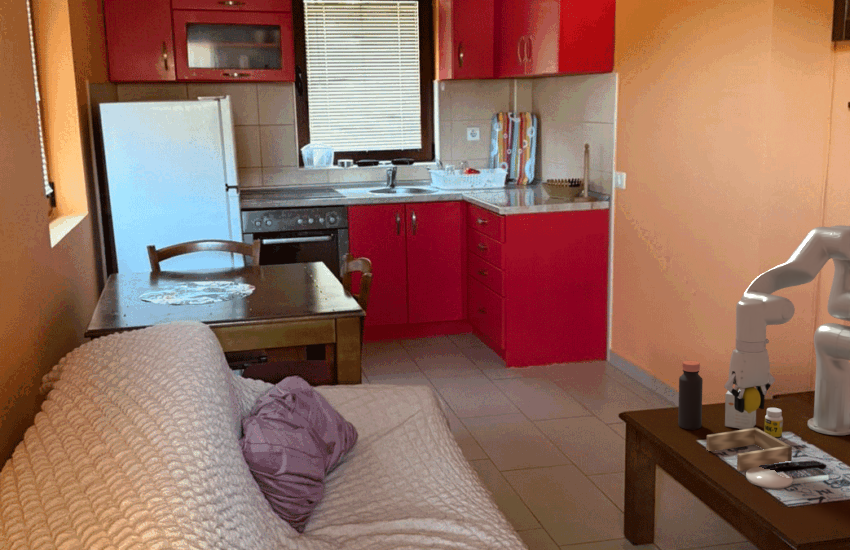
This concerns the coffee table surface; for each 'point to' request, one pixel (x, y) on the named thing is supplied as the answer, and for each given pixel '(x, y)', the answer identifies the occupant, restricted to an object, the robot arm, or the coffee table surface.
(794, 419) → the coffee table surface
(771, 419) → the supplement bottle
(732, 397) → the small box
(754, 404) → the lemon
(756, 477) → the saucer
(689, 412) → the vinegar
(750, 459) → the pine box
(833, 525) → the coffee table surface
